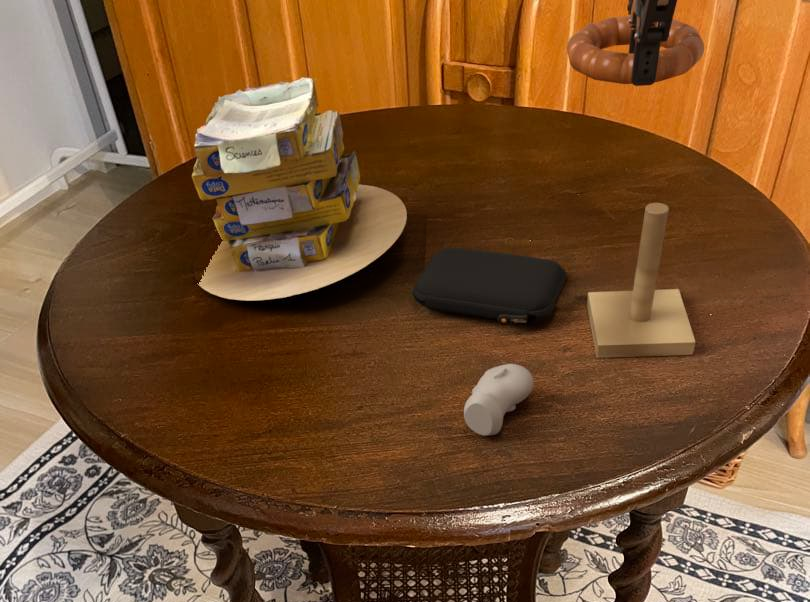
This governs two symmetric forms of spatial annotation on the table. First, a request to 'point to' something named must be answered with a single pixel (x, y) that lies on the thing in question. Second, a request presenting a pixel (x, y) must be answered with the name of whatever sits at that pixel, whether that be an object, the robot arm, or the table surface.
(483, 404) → the smooth white sculpture
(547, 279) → the carrying case
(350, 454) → the table surface
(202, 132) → the stack of yellow boxes
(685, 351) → the post
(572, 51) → the ring
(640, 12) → the robot arm
